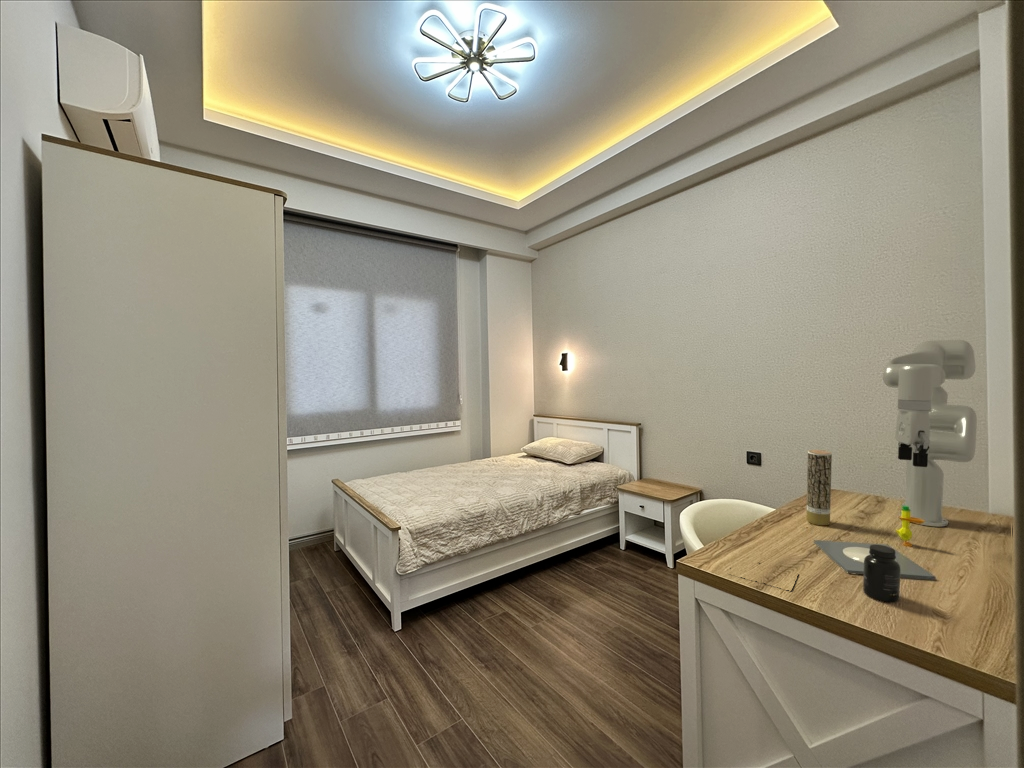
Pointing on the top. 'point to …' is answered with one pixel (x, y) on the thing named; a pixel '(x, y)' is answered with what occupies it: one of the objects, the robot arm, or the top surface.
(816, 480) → the paper tube
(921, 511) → the robot arm
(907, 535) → the toy figure
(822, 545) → the slate tile
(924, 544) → the top surface
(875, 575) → the supplement bottle
